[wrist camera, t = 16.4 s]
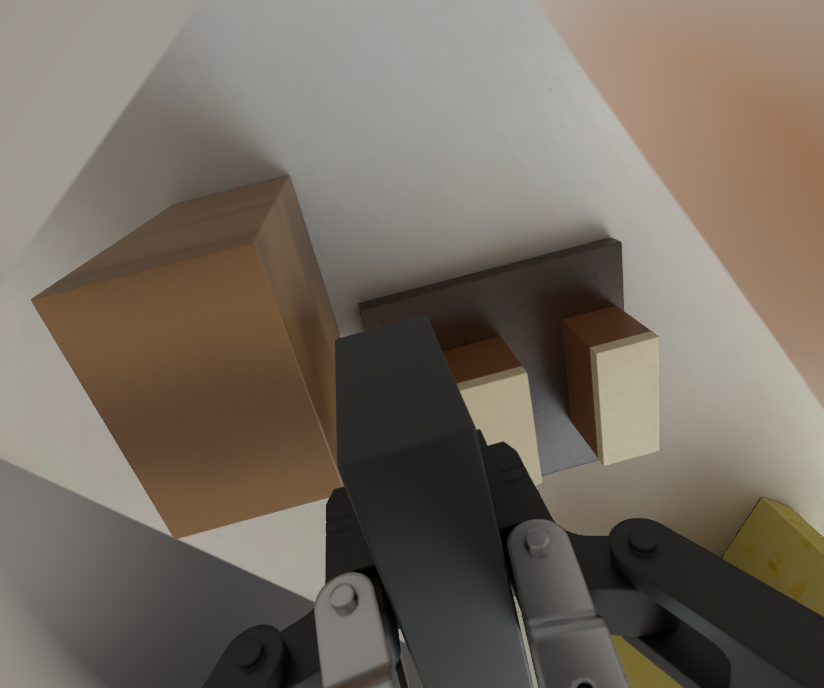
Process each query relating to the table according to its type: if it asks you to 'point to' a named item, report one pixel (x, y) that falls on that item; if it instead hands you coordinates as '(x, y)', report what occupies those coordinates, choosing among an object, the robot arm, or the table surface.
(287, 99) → the table surface
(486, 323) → the board
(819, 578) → the cheese
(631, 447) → the slice
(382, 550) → the knife
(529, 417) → the cream-faced brown block
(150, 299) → the stand
